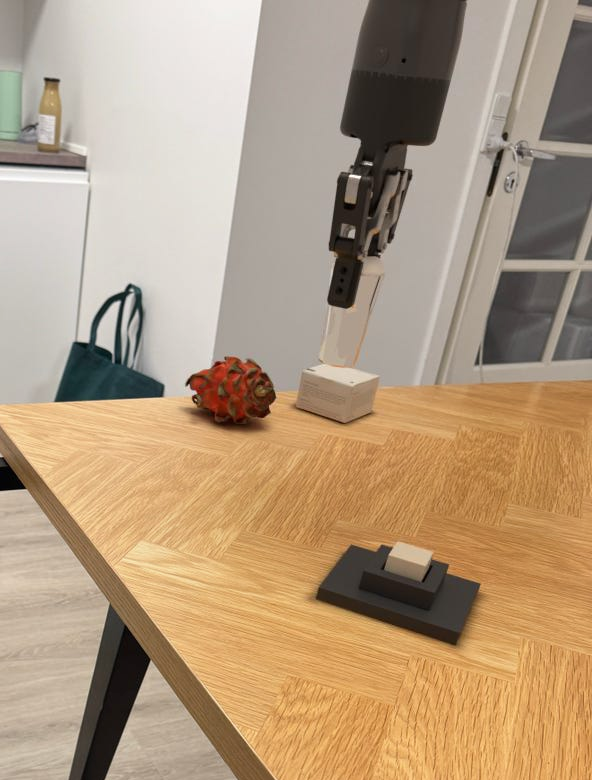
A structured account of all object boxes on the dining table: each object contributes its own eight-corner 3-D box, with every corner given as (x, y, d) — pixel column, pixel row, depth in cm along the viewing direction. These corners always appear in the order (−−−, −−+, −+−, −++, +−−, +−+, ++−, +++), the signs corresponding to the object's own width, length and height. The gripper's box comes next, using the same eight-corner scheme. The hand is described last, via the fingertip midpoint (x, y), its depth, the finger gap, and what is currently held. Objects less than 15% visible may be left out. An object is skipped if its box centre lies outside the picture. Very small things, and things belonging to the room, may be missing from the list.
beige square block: (428, 569, 78) (434, 551, 77) (420, 584, 75) (426, 565, 74) (392, 558, 79) (397, 540, 78) (383, 572, 76) (388, 554, 75)
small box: (372, 412, 121) (382, 375, 118) (344, 424, 116) (353, 385, 113) (323, 396, 125) (331, 360, 122) (293, 407, 120) (301, 369, 117)
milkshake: (347, 355, 83) (374, 239, 78) (369, 371, 79) (401, 250, 73) (301, 352, 82) (326, 235, 77) (321, 368, 78) (349, 245, 72)
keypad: (477, 594, 80) (487, 565, 78) (455, 645, 73) (467, 614, 71) (348, 555, 84) (355, 526, 83) (315, 598, 77) (323, 568, 75)
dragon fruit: (272, 446, 111) (184, 436, 116) (292, 392, 114) (205, 385, 119) (260, 401, 104) (167, 392, 109) (282, 345, 107) (190, 339, 112)
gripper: (429, 71, 61) (367, 325, 71) (469, 78, 72) (411, 298, 81) (325, 61, 64) (279, 306, 73) (379, 68, 75) (332, 282, 84)
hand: (348, 300), depth 77 cm, fingers closed on milkshake, 4 cm apart
